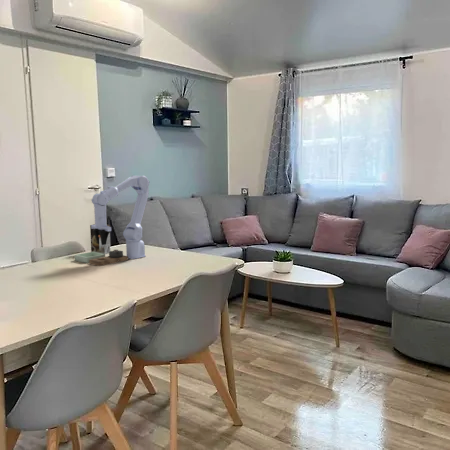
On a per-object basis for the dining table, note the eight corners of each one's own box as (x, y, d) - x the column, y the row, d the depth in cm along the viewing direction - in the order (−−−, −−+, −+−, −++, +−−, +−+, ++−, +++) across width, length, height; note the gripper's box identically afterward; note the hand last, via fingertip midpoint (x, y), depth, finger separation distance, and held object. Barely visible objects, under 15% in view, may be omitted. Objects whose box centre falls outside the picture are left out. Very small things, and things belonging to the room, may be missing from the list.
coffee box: (90, 253, 263) (89, 225, 261) (97, 251, 270) (95, 223, 267) (105, 254, 261) (103, 225, 259) (111, 252, 267) (110, 224, 265)
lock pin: (102, 249, 240) (102, 234, 239) (106, 250, 238) (105, 234, 237) (97, 250, 238) (96, 234, 237) (101, 251, 236) (100, 235, 235)
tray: (93, 257, 254) (92, 251, 254) (105, 259, 247) (105, 254, 246) (74, 260, 246) (74, 254, 245) (86, 263, 238) (86, 257, 238)
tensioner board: (118, 257, 251) (118, 247, 251) (128, 259, 246) (127, 249, 246) (89, 263, 238) (89, 253, 237) (98, 265, 233) (98, 255, 232)
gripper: (85, 217, 238) (86, 243, 239) (102, 219, 228) (103, 246, 230) (97, 215, 243) (98, 241, 245) (114, 218, 233) (115, 244, 235)
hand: (101, 244), depth 238 cm, fingers closed on lock pin, 3 cm apart
